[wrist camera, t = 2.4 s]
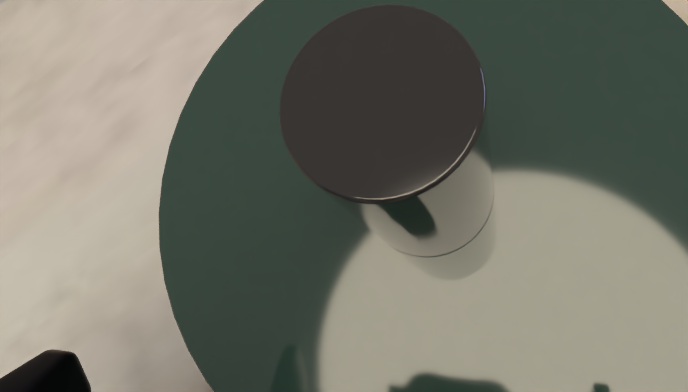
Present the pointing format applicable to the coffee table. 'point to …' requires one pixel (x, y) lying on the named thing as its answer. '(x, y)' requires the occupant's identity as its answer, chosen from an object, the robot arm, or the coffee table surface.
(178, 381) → the coffee table surface
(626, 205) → the tin lid
